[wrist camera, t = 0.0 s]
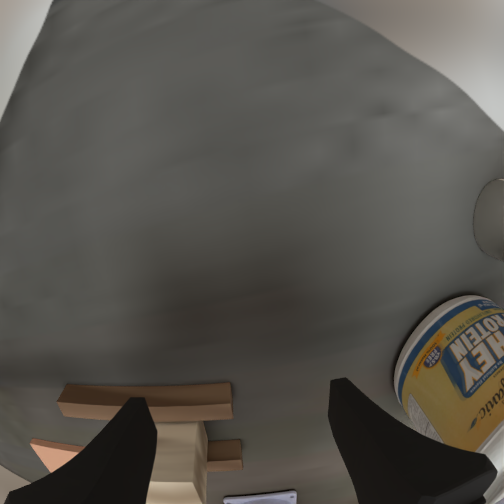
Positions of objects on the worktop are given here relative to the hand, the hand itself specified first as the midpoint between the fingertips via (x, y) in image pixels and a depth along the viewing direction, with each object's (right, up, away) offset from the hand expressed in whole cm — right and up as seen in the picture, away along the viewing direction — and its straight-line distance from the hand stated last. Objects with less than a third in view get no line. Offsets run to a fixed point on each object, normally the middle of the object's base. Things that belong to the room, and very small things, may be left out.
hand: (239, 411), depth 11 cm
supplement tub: (+18, -3, +13) cm, 22 cm away
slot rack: (-8, -8, +13) cm, 17 cm away
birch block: (-6, -8, +13) cm, 16 cm away
